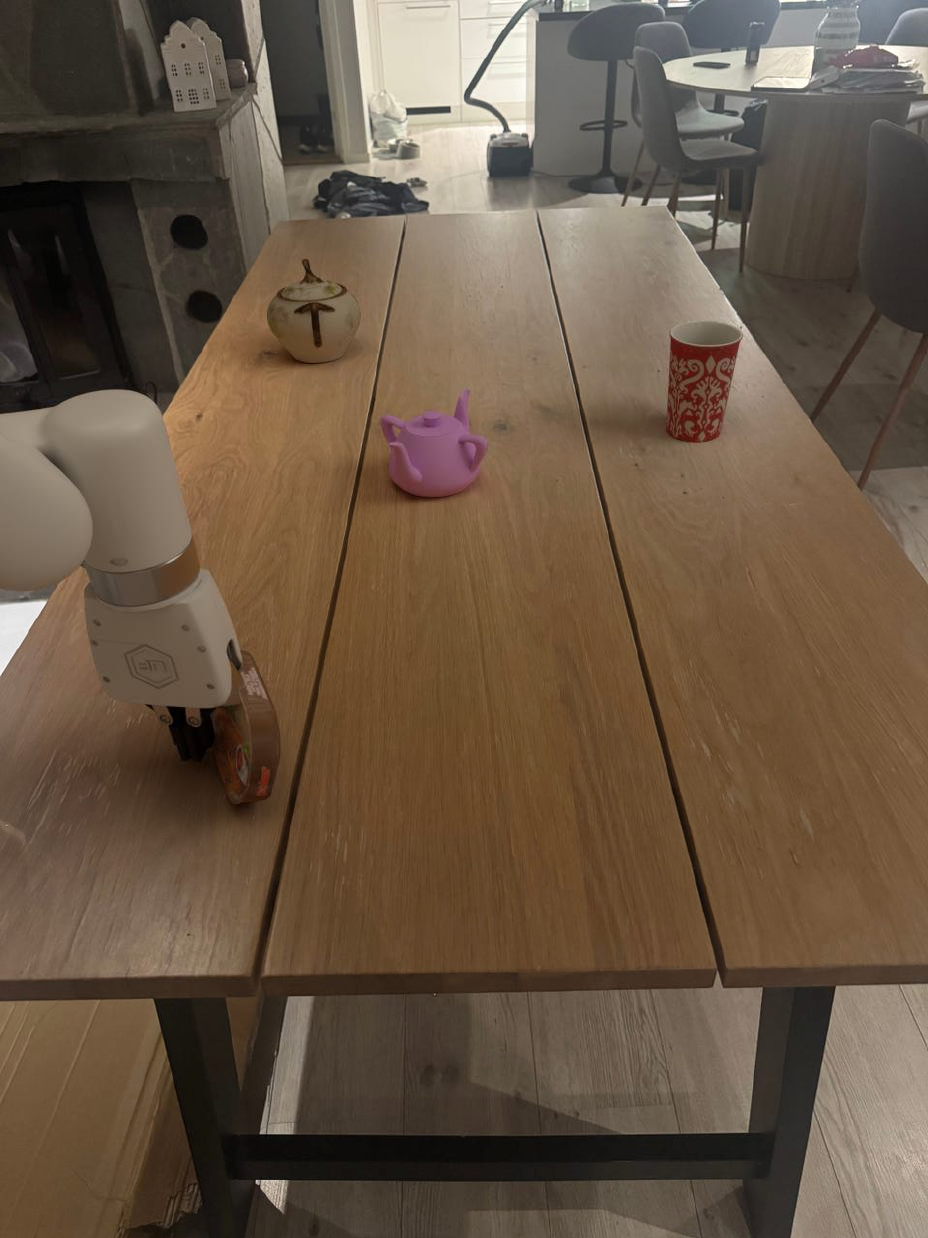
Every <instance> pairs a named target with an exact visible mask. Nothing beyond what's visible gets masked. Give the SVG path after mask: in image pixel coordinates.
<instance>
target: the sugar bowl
mask: <svg viewBox="0 0 928 1238" xmlns="http://www.w3.org/2000/svg"><path fill="white" fill-rule="evenodd" d="M301 264H302V266H303V268H304V273H305V274H304V277H303V279H301V280H298V281H295V282H292V283H290V284H289V285H287V286H285V287H282V288H281V289H279V290H278V291H277V292H276V294H275V296H273V298H272V299H271V301H270V302H269V304H268V307H267V310H266V320H267V325H268V327H269V330H270V332H271V333H272V334H273V336H274V337H275V338H276V340H277V341H278V342H279V343H280V345H282V346H283V347H284V348H285V349H286V350H287V351H288V352H289V353H290V355H291V356H292V357H293V358H294V359H295V360H296V361H299V362H303V363H308V364H309V363H310V364H312V363H313V364H318V363H327V362H332V361H336V360H338V359H340V358H341V357H343V356H344V354H345V353H346V350H347V349H348V347H349V345H350V344H351V342H352V340H353V339H354V337H355V335H356V333H357V332H358V330H359V327H360V323H361V319H362V311H361V306H360V304H359V302H358V299H357V298H356V297H355V295H354V294H353V293H352V292H351V291H350V290H348V289H347V287H346V286H345V285H343V284H341V283H337V282H334V281H332V280H328V279H322V278H321V277H318V276H316V275H315V274H314V273H313V271H312V269H311V263H310V260H309V259H308V258H303V259H302V260H301Z"/></svg>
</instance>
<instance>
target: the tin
mask: <svg viewBox="0 0 928 1238" xmlns="http://www.w3.org/2000/svg"><path fill="white" fill-rule="evenodd" d="M240 651H241V656H242V662H243V669H242V671H241V672H240V673H239V675H240V676H241V678H242V680H243V682H244V684H245V686H246V687H245V688H244V689H243V690H242V691H239V692H238V695H239V698H240V700H241V701H240V704H239V705H233V706H225V707H223V706H219V707H217V709H215V710H214V711H213V712H212V713H211V714H210V716H211V720H212V723H213V727H214V731H215V741H214V743H213V745H212V747H211V748H212V751H213V754H214V757H215V760H216V764H217V767H218V770H219V774H220V777H221V780H222V784H223V787H224V789H225V793H226V796H227V797H228V798H227V799H229V801H230V802H231V803H232V804H234V805H239V804H241V803H251V802H252V803H253V802H263V801H266V800H268V799H269V798H270V797H271V796H272V794H273V789H274V785H275V783H276V778H277V772H278V768H279V765H280V760H281V732H280V724H279V719H278V715H277V712H276V709H275V706H274V704H273V702H272V698H271V696H270V694H269V692H268V688H267V686H266V684H265V681H264V679H263V676H262V675H261V672H260V670H259V668H258V665H257V663H256V660H255V658H254V656H253V655H252V654H251V653H250V652H249V651H247V650H242V649H240Z"/></svg>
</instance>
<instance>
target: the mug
mask: <svg viewBox="0 0 928 1238" xmlns="http://www.w3.org/2000/svg"><path fill="white" fill-rule="evenodd" d="M668 334H669V340H670V343H669V344H670V345H669V365H668V384H667V403H666V404H667V405H666V407H667V408H666V420H665V421H666V422H665V423H666V424H665V426H666V427H665V429H666V432H667V433H668V434H669V435H670V436H671V437H672V438H675V439H677V440H681V441H684V442H689V443H704V442H709V441H712V440H715V439H717V438H718V437H719V436H720V435H721V433H722V430H723V425H724V420H725V415H726V409H727V404H728V400H729V395H730V391H731V387H732V382H733V381H732V380H733V376H734V372H735V368H736V363H737V358H738V353H739V348H740V344H741V341H742V340H743V337H744V334H743V332H742V330H741V329H739V328H738V327H737V326H735V325H732V324H729V323H726V322H723V321H716V320H691V321H685V322H680V323H678V324H676V325H673V326H672V327H671V328H670V329H669V333H668Z"/></svg>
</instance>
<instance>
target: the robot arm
mask: <svg viewBox="0 0 928 1238" xmlns="http://www.w3.org/2000/svg"><path fill="white" fill-rule="evenodd" d="M80 567H81V568H83V569H85V570H86V573H87V576H88V580H89V582H88V583H87V585H85V587H84V590H83V600H84V601H83V602H84V614H85V623H86V624H85V625H86V631H87V636H88V641H89V647H90V652H91V655H92V659H93V663H94V666H95V669H96V673H97V676H98V679H99V682H100V684H101V687H102V689H103V691H104V693H105V694H106V695H107V697H109V698H110V699H113V700H115V701H118V702H121V703H129V704H137V705H144V706H145V707H147V708H148V709H150V710H152V711H153V712H154V713H155V716H156V717H157V719H158V721H159V722H160V723H161V724H163V725H166V726H168V730H169V733H170V735H171V739H172V742H173V745H174V746H176V749H177V753H178V755H179V758H180V761H181V762H189V761H192V762H193V763H201V762H203V759H204V758H205V756H206V753H207V752H208V749H211V748H212V745H213V743H214V741H215V731H214V727H213V723H212V720H211V716H210V714H211V713H212V712H213V711H214V710H215V709H217V707H219V706H223V707H225V706H233V705H239V704H240V701H241V700H240V698H239V695H238V692H239V691H242V690H243V689H244V688H245V687H246V686H245V684H244V682H243V680H242V678H241V676H240V675H239V673H240V672H241V671H242V669H243V662H242V656H241V651H240V650H241V647H240V643H239V640H238V637H237V633H236V630H235V628H234V624H233V621H232V619H231V615H230V612H229V610H228V607H227V605H226V603H225V600H224V599H223V596H222V594H221V592H220V589H219V588H218V586H217V583H216V581H215V580H214V577H213V575H212V574H211V573H210V571H209V570H208V569H207V568H202V567H201V564H200V559H199V556H198V551H197V547H196V543H195V539H194V535H193V532H192V526H191V523H190V519H189V515H188V511H187V507H186V502H185V499H184V495H183V489H182V488H181V482H180V478H179V474H178V471H177V466H176V462H175V458H174V454H173V450H172V446H171V442H170V438H169V434H168V429H167V426H166V423H165V420H164V417H163V413H162V411H161V410H160V408H159V406H158V405H157V404H156V403H155V401H154V400H152V399H151V398H150V397H148V396H147V395H145V394H142V393H140V392H138V391H134V390H130V389H102V390H94V391H90V392H85V393H83V394H79V395H76V396H73V397H71V398H68V399H66V400H63V401H61V402H60V403H59V404H57V405H55V406H50V407H45V408H44V407H43V408H40V409H39V408H38V409H32V410H24V411H16V412H6V413H0V589H1V590H4V591H13V592H15V591H16V592H33V591H34V592H35V591H38V590H43V589H47V588H50V587H52V586H54V585H57V584H60V583H62V581H63V582H64V581H65V580H66V579H67V578H69V577H70V576H72V574H73V573H74V572H76V571H77V569H79V568H80Z"/></svg>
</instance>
